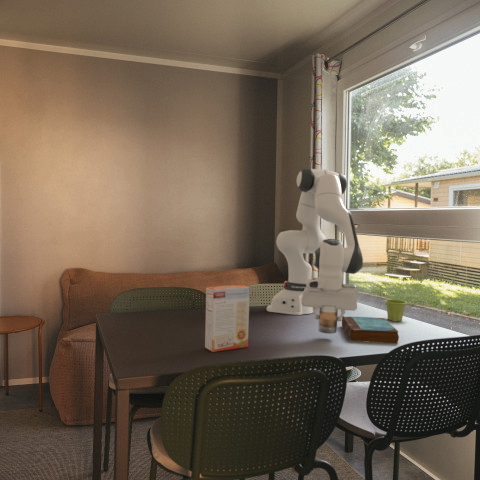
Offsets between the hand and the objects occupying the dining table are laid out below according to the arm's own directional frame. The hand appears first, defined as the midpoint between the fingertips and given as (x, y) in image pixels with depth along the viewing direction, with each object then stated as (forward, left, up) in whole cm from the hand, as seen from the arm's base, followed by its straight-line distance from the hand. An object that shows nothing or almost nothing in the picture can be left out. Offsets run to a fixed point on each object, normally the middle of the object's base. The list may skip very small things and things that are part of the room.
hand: (328, 320), depth 167 cm
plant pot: (+31, +45, -8) cm, 55 cm away
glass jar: (0, 0, -4) cm, 4 cm away
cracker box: (-33, -22, -8) cm, 41 cm away
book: (+16, +13, -8) cm, 22 cm away
